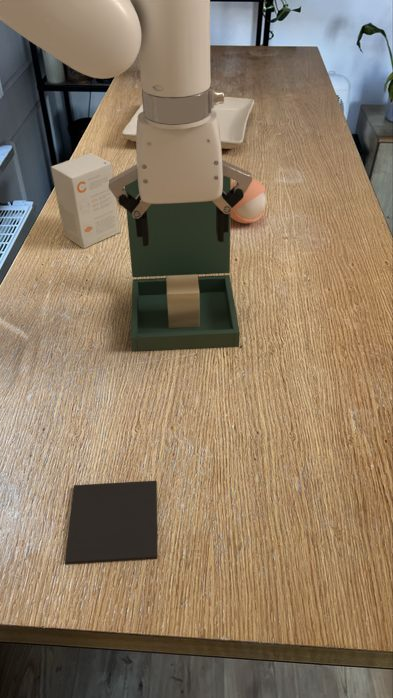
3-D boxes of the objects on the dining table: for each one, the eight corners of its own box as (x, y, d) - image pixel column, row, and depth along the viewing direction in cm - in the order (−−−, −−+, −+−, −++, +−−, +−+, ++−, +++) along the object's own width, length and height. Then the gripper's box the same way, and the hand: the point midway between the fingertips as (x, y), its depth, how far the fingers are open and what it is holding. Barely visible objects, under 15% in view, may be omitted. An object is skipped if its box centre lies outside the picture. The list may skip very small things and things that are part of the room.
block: (199, 326, 83) (199, 292, 79) (168, 328, 83) (166, 294, 79) (197, 308, 87) (197, 274, 83) (168, 309, 86) (166, 275, 83)
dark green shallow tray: (239, 350, 81) (239, 332, 78) (132, 356, 80) (130, 337, 78) (229, 292, 91) (229, 274, 89) (134, 296, 90) (132, 279, 88)
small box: (100, 220, 108) (90, 151, 100) (120, 233, 105) (113, 162, 96) (62, 236, 104) (49, 165, 95) (83, 249, 101) (71, 178, 92)
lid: (230, 175, 80) (230, 173, 81) (123, 179, 80) (124, 177, 81) (229, 273, 88) (229, 271, 89) (132, 277, 87) (132, 275, 88)
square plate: (121, 149, 132) (119, 132, 129) (150, 106, 152) (149, 91, 150) (241, 157, 128) (242, 139, 126) (254, 112, 148) (255, 96, 146)
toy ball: (250, 236, 103) (252, 194, 98) (214, 223, 107) (215, 182, 102) (274, 217, 108) (277, 177, 103) (239, 205, 112) (241, 166, 106)
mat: (74, 487, 64) (73, 485, 64) (156, 482, 65) (156, 480, 64) (65, 564, 57) (64, 562, 57) (157, 558, 58) (157, 556, 58)
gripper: (250, 89, 68) (245, 220, 79) (100, 95, 68) (117, 227, 79) (259, 112, 62) (253, 250, 74) (96, 120, 62) (115, 258, 73)
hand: (183, 238), depth 76 cm, fingers open, 9 cm apart
